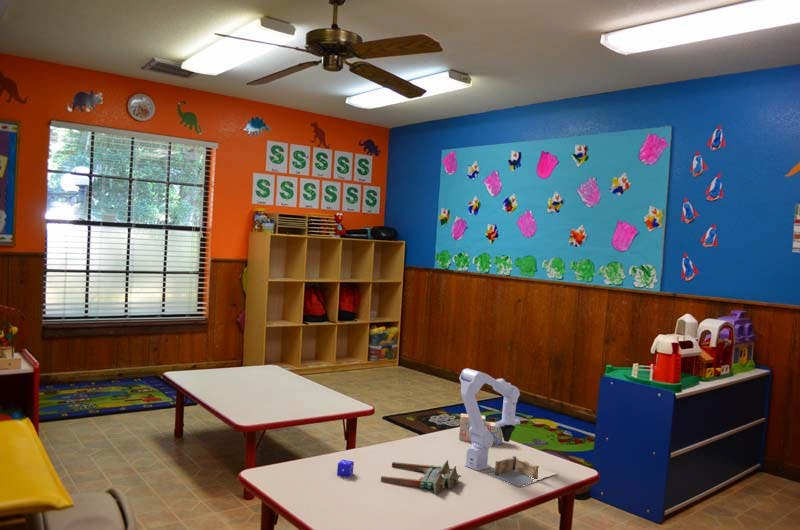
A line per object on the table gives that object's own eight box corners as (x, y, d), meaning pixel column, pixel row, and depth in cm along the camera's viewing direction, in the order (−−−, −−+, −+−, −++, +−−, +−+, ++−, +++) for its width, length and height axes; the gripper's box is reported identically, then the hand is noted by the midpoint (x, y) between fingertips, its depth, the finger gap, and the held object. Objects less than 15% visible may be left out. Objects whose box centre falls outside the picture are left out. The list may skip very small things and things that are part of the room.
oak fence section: (514, 470, 263) (515, 458, 263) (517, 469, 264) (518, 457, 264) (535, 479, 254) (536, 466, 254) (538, 478, 255) (539, 466, 255)
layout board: (519, 487, 246) (519, 486, 246) (487, 474, 257) (488, 473, 257) (556, 474, 265) (556, 472, 265) (526, 463, 277) (526, 461, 277)
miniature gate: (395, 455, 263) (464, 461, 256) (394, 468, 263) (464, 474, 256) (378, 476, 236) (454, 484, 229) (378, 490, 236) (454, 498, 229)
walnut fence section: (496, 475, 255) (498, 462, 255) (493, 474, 257) (495, 461, 257) (516, 469, 265) (517, 457, 265) (513, 468, 266) (514, 456, 266)
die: (336, 475, 243) (337, 463, 243) (341, 471, 248) (342, 459, 248) (348, 477, 242) (349, 465, 241) (353, 473, 246) (354, 461, 246)
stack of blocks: (501, 441, 307) (503, 417, 307) (501, 445, 301) (504, 420, 301) (458, 436, 309) (460, 412, 309) (458, 440, 303) (460, 416, 303)
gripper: (504, 415, 268) (501, 445, 269) (526, 412, 277) (523, 441, 278) (492, 411, 274) (490, 441, 274) (514, 408, 283) (512, 437, 283)
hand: (506, 441), depth 276 cm, fingers closed
